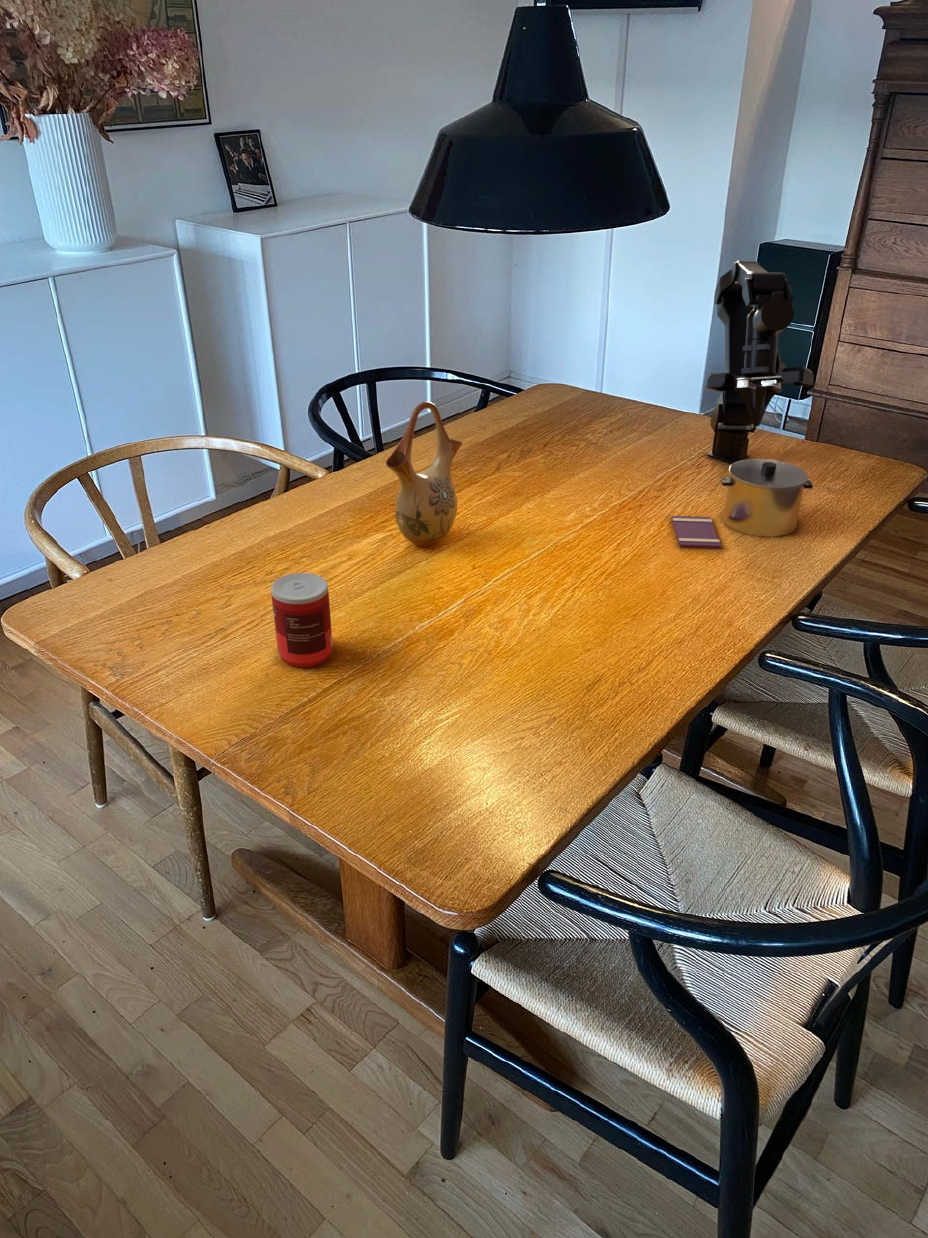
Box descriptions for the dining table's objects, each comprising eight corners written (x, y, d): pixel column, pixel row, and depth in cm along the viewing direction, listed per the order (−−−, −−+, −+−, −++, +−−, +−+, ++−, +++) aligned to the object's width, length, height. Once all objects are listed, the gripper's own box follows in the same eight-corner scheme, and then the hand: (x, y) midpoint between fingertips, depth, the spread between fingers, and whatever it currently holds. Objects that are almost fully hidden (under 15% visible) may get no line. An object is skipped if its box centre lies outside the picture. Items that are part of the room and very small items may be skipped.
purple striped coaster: (671, 518, 172) (671, 515, 171) (709, 519, 171) (710, 516, 171) (679, 547, 161) (680, 543, 161) (720, 548, 161) (721, 545, 161)
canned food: (307, 633, 136) (300, 566, 131) (345, 652, 132) (340, 584, 126) (266, 655, 131) (258, 587, 126) (305, 675, 127) (298, 605, 121)
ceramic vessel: (410, 564, 155) (406, 419, 142) (375, 547, 161) (367, 406, 148) (477, 534, 165) (479, 396, 153) (442, 519, 171) (441, 385, 158)
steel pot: (709, 505, 177) (718, 449, 171) (793, 507, 176) (805, 451, 170) (721, 536, 165) (731, 477, 160) (812, 539, 164) (825, 479, 159)
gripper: (826, 343, 174) (820, 428, 176) (732, 352, 186) (727, 431, 188) (805, 333, 166) (799, 422, 168) (707, 343, 178) (703, 426, 179)
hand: (756, 426), depth 176 cm, fingers closed
